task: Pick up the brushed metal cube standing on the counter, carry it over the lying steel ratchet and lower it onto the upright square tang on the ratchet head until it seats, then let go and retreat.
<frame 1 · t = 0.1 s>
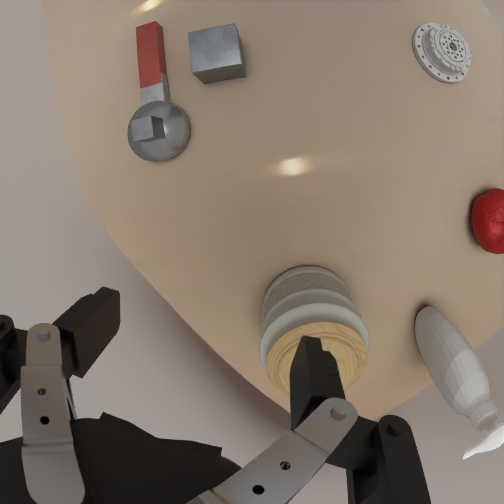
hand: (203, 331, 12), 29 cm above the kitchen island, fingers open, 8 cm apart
mechanical component: (438, 54, 30), on the kitchen island
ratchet: (163, 131, 37), on the kitchen island
soap bottle: (422, 330, 44), on the kitchen island
pomegranate: (484, 215, 37), on the kitchen island
brushed metal cube: (222, 61, 34), on the kitchen island
jar: (306, 303, 44), on the kitchen island
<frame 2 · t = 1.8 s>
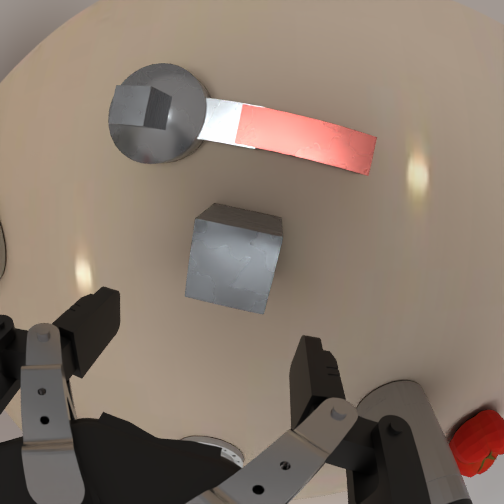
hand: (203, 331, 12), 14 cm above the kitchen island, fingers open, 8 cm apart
mechanical component: (210, 452, 36), on the kitchen island
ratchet: (166, 116, 22), on the kitchen island
brushed metal cube: (241, 242, 25), on the kitchen island
tomato: (470, 424, 32), on the kitchen island
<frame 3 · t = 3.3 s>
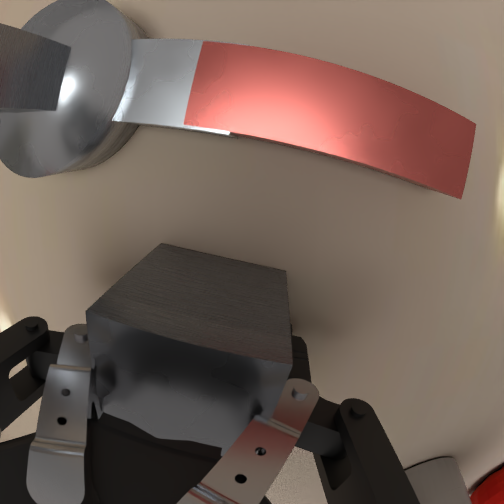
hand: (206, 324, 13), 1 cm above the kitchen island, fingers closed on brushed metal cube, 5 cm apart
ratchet: (81, 89, 11), on the kitchen island
brushed metal cube: (212, 312, 14), on the kitchen island, touching gripper
tomato: (495, 473, 21), on the kitchen island
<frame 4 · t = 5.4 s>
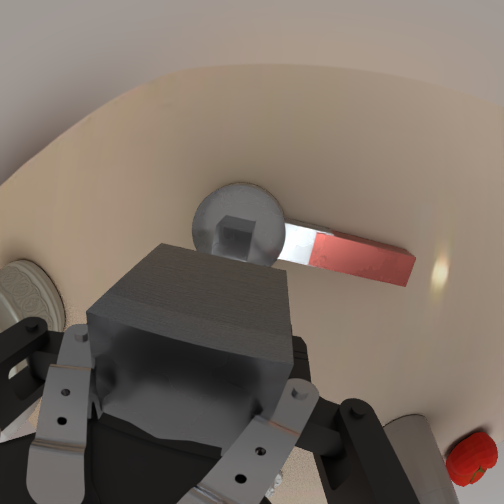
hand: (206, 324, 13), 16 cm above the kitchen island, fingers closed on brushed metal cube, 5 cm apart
mechanical component: (253, 472, 41), on the kitchen island
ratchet: (242, 225, 28), on the kitchen island
soap bottle: (25, 377, 40), on the kitchen island
brushed metal cube: (212, 311, 14), point 15 cm above the kitchen island, touching gripper
jar: (35, 300, 34), on the kitchen island
tomato: (465, 442, 37), on the kitchen island
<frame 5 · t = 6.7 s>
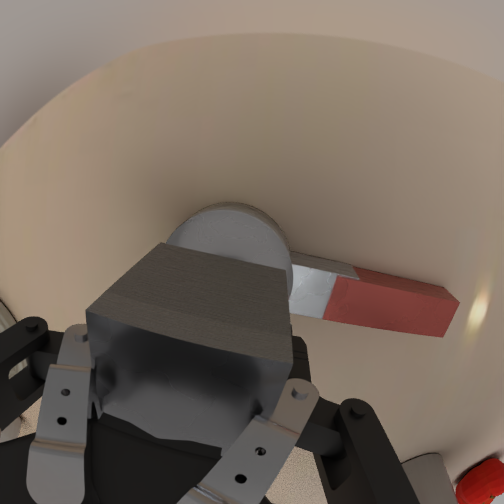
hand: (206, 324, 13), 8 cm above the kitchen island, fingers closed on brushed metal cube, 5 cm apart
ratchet: (231, 261, 20), on the kitchen island
soap bottle: (4, 405, 33), on the kitchen island
brushed metal cube: (212, 311, 14), point 7 cm above the kitchen island, touching gripper
jar: (0, 332, 26), on the kitchen island
tomato: (476, 468, 31), on the kitchen island
when the fingers open (5 cm above the kitchen island, at t = 7.7 s): brushed metal cube stays where it is, resting on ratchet.
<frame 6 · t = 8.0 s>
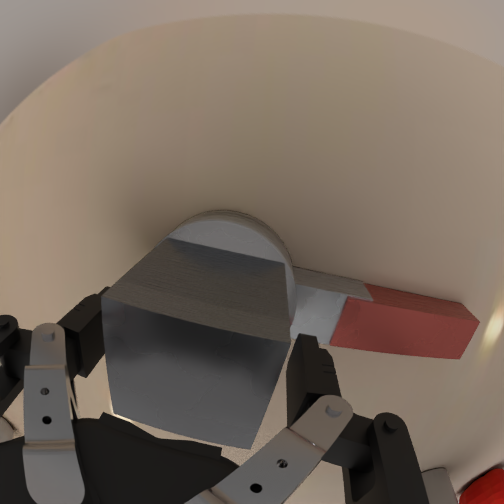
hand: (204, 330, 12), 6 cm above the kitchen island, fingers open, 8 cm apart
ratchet: (224, 277, 18), on the kitchen island
brushed metal cube: (215, 302, 15), point 3 cm above the kitchen island, touching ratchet
tomato: (480, 478, 28), on the kitchen island
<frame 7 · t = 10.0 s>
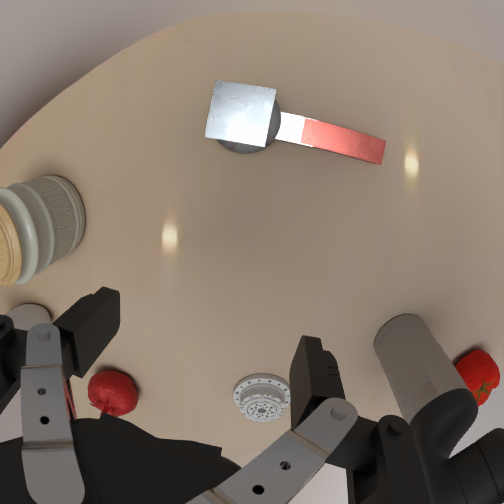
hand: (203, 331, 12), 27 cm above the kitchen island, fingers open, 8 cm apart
mechanical component: (262, 391, 48), on the kitchen island
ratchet: (247, 120, 34), on the kitchen island
soap bottle: (34, 309, 46), on the kitchen island
pomegranate: (119, 382, 50), on the kitchen island
brushed metal cube: (245, 118, 31), point 3 cm above the kitchen island, touching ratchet
jar: (56, 214, 39), on the kitchen island
tomato: (465, 364, 45), on the kitchen island
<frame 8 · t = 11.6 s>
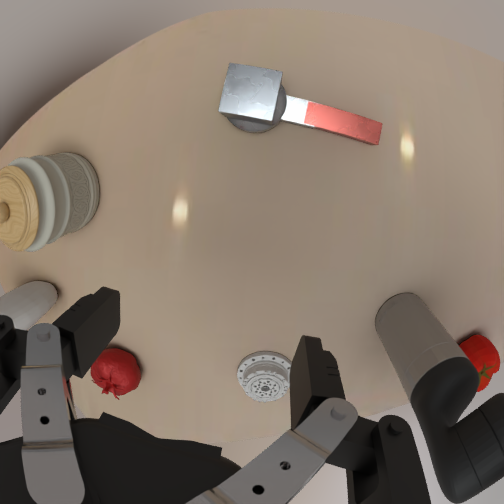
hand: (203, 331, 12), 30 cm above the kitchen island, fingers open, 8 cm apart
mechanical component: (266, 371, 50), on the kitchen island
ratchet: (255, 104, 36), on the kitchen island
soap bottle: (41, 286, 48), on the kitchen island
pomegranate: (122, 361, 52), on the kitchen island
brushed metal cube: (254, 100, 33), point 3 cm above the kitchen island, touching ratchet
jar: (71, 191, 42), on the kitchen island
tomato: (465, 350, 46), on the kitchen island
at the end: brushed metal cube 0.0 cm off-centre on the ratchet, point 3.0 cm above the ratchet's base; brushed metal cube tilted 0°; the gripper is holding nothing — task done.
